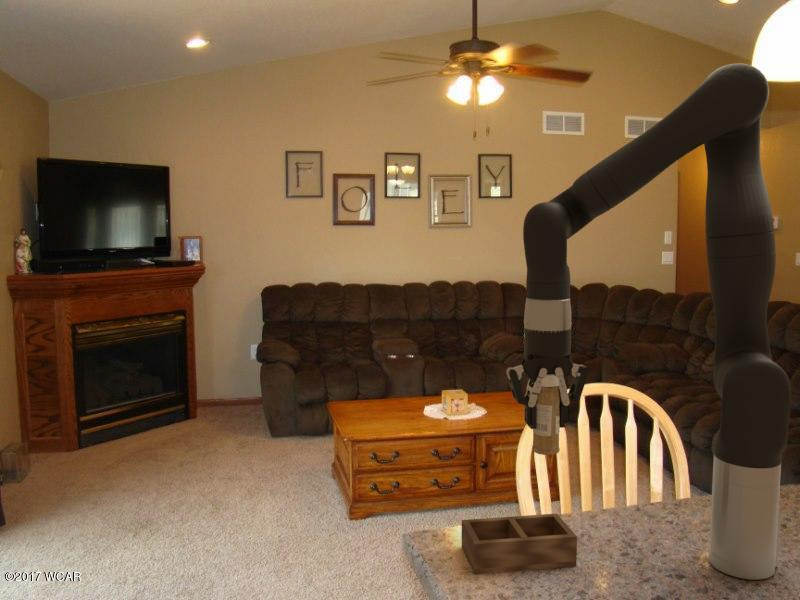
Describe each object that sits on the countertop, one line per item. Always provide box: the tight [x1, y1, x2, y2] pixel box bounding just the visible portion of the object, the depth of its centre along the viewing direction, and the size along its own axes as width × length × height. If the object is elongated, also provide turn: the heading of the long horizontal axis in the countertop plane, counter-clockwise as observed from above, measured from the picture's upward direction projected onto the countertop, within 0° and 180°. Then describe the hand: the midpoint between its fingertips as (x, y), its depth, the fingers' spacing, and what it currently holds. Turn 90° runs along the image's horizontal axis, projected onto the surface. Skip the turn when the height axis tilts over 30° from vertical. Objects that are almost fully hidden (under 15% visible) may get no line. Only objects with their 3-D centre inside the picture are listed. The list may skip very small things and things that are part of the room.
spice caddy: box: [461, 513, 578, 575], centre depth 112 cm, size 16×9×5 cm, turn 98°
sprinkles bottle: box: [532, 374, 561, 456], centre depth 117 cm, size 5×5×14 cm
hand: (546, 426), depth 117 cm, fingers closed on sprinkles bottle, 4 cm apart
